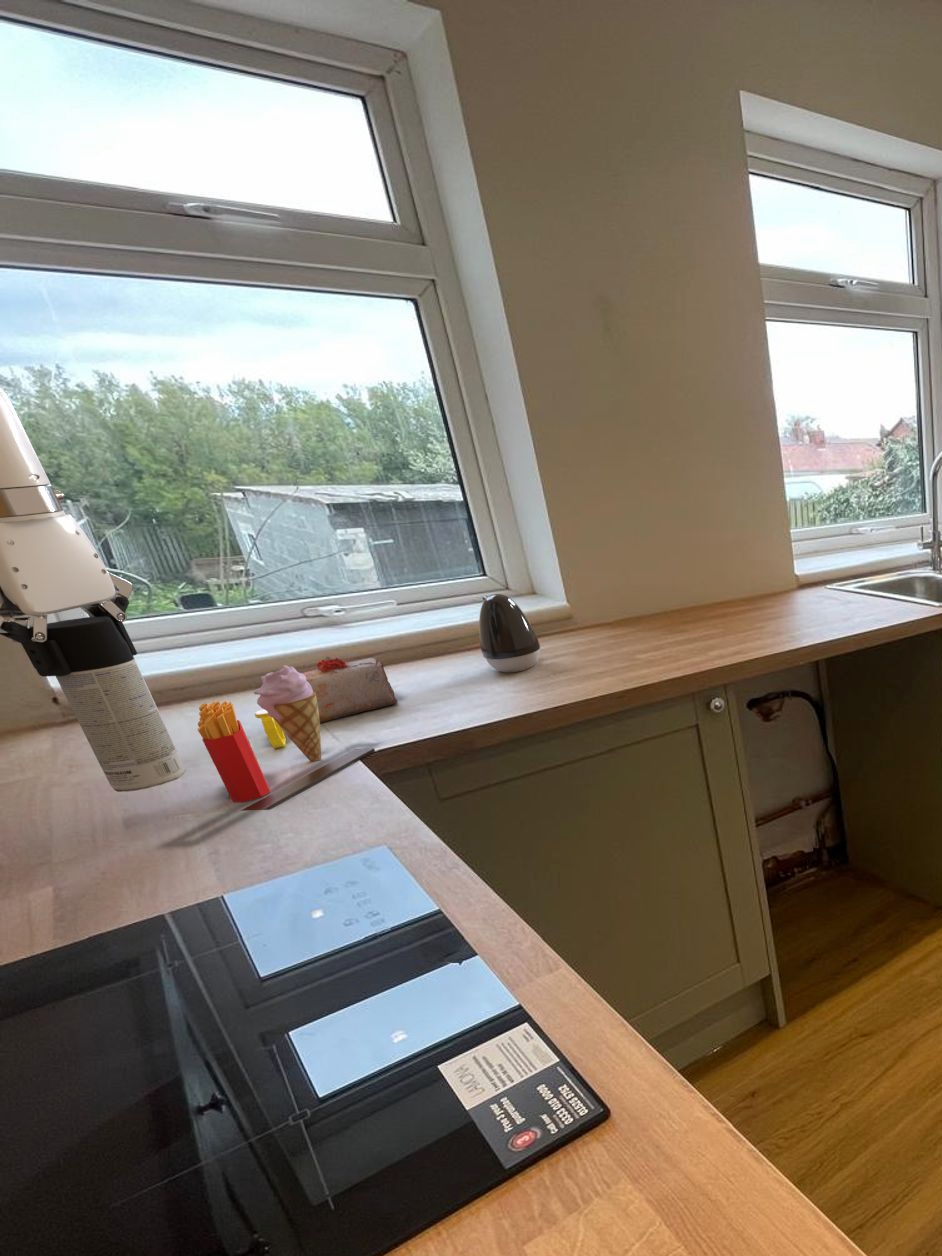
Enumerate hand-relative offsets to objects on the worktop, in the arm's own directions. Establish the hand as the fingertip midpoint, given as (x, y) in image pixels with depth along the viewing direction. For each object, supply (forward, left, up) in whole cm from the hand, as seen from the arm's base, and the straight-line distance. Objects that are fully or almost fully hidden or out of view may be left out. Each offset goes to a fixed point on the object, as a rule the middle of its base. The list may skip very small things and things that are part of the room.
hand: (90, 664), depth 94 cm
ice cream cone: (0, +22, -22) cm, 31 cm away
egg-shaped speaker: (+6, +67, -22) cm, 71 cm away
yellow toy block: (-11, +29, -22) cm, 38 cm away
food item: (-11, +44, -22) cm, 51 cm away
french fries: (0, +11, -22) cm, 25 cm away
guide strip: (+6, +10, -22) cm, 25 cm away
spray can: (0, 0, -15) cm, 15 cm away
